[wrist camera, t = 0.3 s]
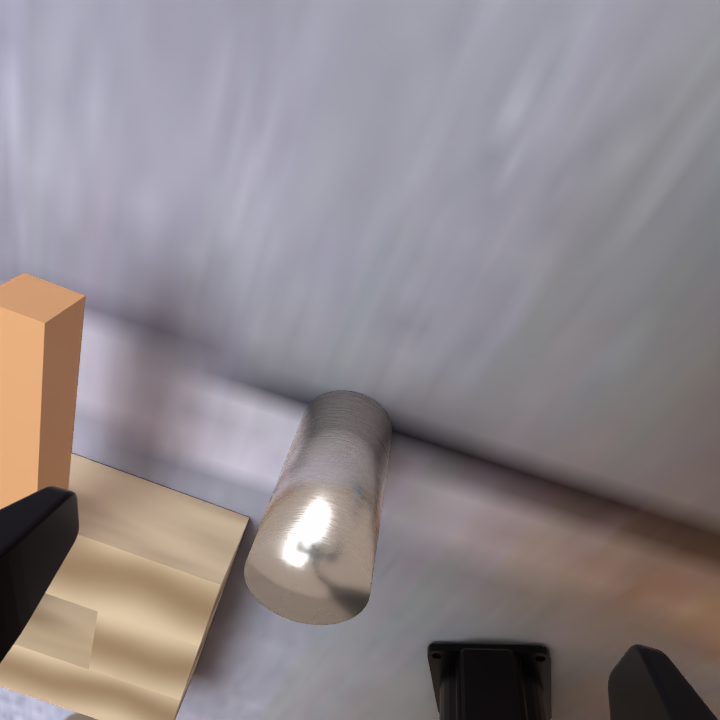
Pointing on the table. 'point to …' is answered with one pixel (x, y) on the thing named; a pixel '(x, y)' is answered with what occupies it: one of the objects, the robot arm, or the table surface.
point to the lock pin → (37, 384)
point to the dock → (126, 600)
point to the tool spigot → (324, 514)
